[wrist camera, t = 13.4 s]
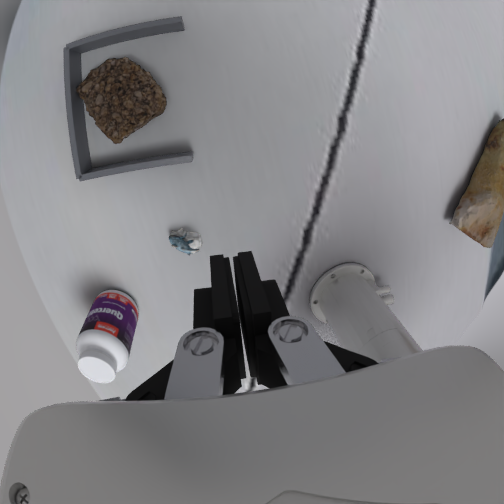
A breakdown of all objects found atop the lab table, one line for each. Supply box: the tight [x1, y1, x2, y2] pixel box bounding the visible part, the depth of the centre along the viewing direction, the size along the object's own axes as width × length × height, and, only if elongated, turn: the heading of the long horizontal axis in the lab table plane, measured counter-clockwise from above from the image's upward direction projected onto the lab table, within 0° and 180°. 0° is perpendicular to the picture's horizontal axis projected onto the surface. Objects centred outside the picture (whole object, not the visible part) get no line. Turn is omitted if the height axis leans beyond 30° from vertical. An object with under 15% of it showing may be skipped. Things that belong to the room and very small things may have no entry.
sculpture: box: [169, 228, 202, 255], centre depth 40 cm, size 10×12×6 cm
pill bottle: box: [76, 290, 139, 383], centre depth 39 cm, size 8×8×14 cm
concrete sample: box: [76, 57, 166, 144], centre depth 30 cm, size 12×10×5 cm
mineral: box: [449, 119, 504, 248], centre depth 40 cm, size 26×9×10 cm
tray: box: [64, 16, 193, 181], centre depth 30 cm, size 15×19×4 cm
